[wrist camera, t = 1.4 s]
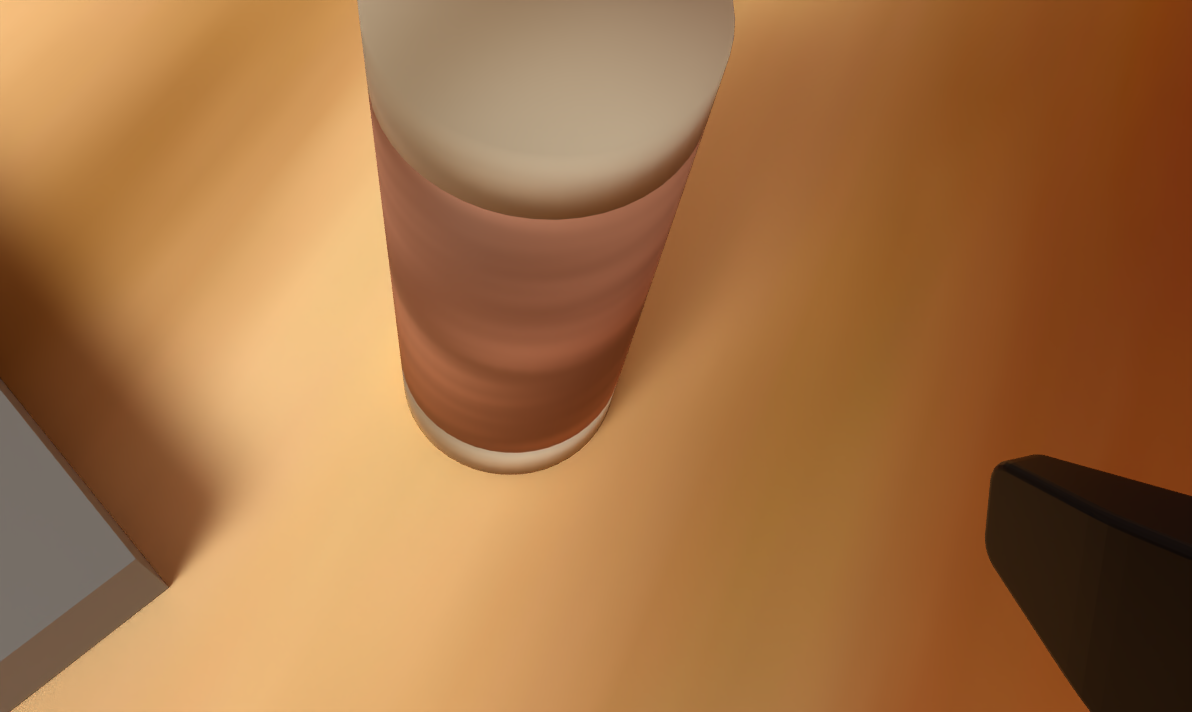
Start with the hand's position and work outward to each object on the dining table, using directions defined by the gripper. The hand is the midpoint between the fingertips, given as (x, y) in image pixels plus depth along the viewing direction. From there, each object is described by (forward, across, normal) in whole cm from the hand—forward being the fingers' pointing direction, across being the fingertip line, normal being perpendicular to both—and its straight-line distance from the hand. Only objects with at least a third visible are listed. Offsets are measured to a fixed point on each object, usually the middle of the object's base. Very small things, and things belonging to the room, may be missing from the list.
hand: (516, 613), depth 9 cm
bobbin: (+16, -2, +5) cm, 17 cm away
